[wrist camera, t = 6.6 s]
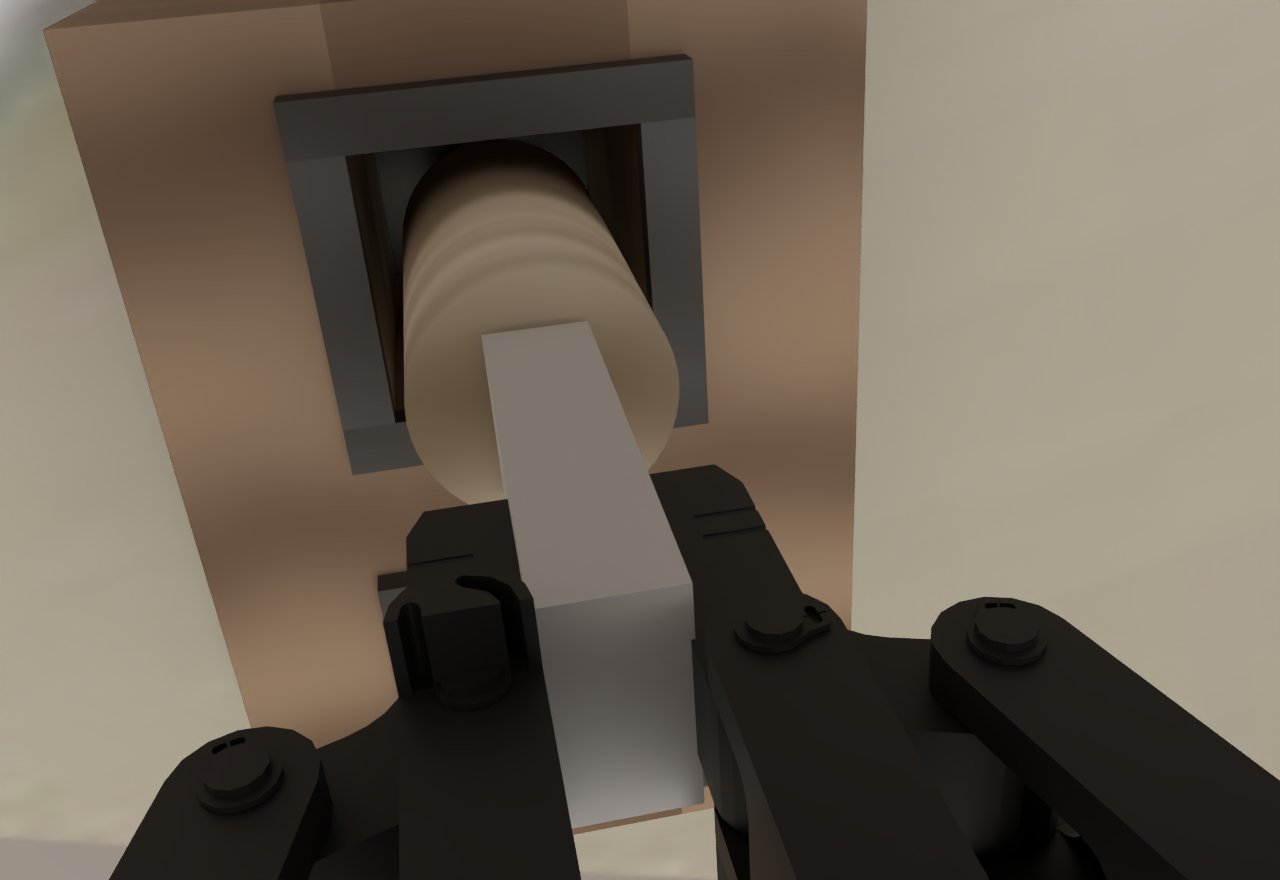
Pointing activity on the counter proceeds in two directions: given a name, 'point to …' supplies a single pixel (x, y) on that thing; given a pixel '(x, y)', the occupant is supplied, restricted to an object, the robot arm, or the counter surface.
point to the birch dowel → (514, 303)
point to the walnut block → (372, 293)
